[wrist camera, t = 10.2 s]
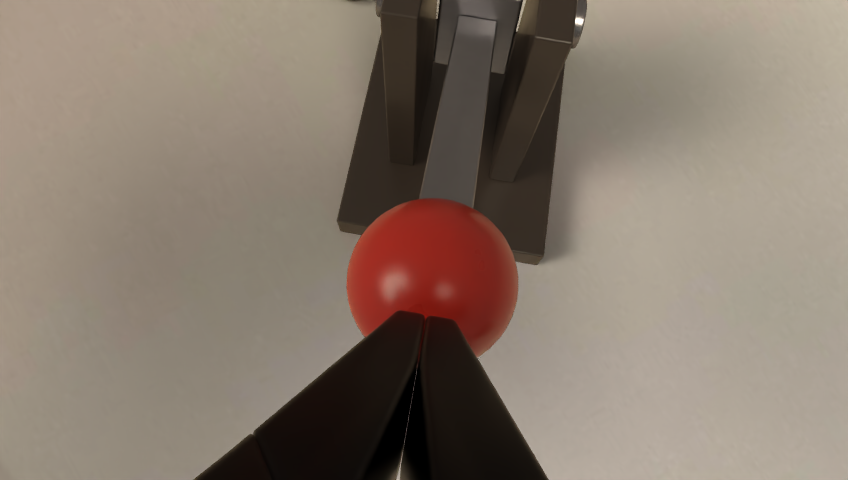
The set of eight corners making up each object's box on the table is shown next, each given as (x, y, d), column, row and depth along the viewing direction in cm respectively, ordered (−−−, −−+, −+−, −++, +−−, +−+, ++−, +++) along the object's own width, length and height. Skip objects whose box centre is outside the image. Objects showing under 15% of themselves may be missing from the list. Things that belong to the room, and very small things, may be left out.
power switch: (494, 412, 11) (534, 328, 9) (331, 382, 11) (322, 292, 9) (523, 38, 19) (547, -60, 17) (428, 23, 19) (438, -78, 17)
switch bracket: (537, 265, 23) (625, 151, 14) (339, 231, 23) (295, 96, 14) (561, 56, 26) (645, -151, 17) (386, 27, 26) (376, -192, 17)
